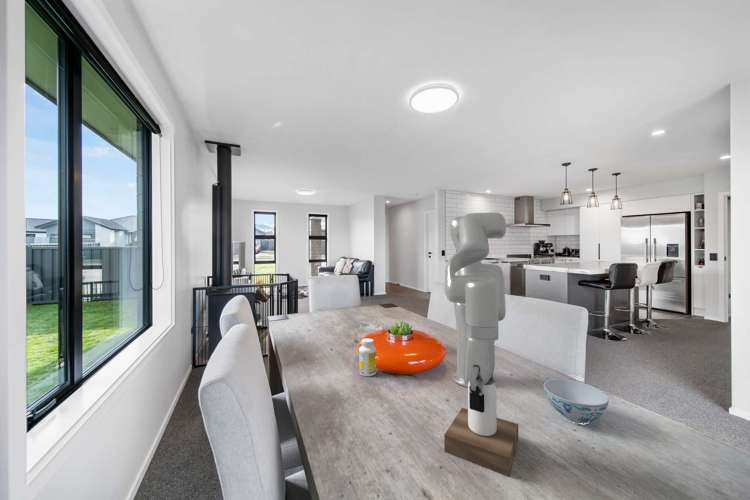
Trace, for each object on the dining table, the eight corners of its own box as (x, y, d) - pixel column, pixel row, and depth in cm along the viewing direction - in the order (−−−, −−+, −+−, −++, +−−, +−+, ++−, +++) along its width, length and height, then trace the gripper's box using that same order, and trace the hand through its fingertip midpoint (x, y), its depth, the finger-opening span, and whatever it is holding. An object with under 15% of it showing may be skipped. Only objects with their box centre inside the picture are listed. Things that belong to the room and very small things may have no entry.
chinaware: (596, 408, 86) (595, 382, 86) (620, 440, 71) (619, 409, 72) (539, 400, 91) (538, 376, 91) (551, 428, 76) (550, 399, 76)
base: (462, 422, 79) (462, 407, 79) (518, 440, 72) (518, 424, 72) (444, 451, 68) (444, 434, 68) (509, 477, 60) (509, 457, 60)
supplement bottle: (378, 370, 114) (377, 338, 114) (374, 377, 108) (374, 343, 108) (361, 369, 115) (361, 337, 115) (357, 376, 109) (357, 342, 109)
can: (499, 439, 66) (498, 386, 66) (469, 435, 67) (469, 384, 67) (493, 422, 72) (493, 374, 72) (466, 419, 74) (466, 372, 74)
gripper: (475, 320, 79) (475, 382, 80) (455, 337, 65) (455, 413, 65) (504, 324, 75) (504, 389, 75) (490, 343, 61) (490, 424, 61)
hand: (481, 400), depth 70 cm, fingers open, 9 cm apart
